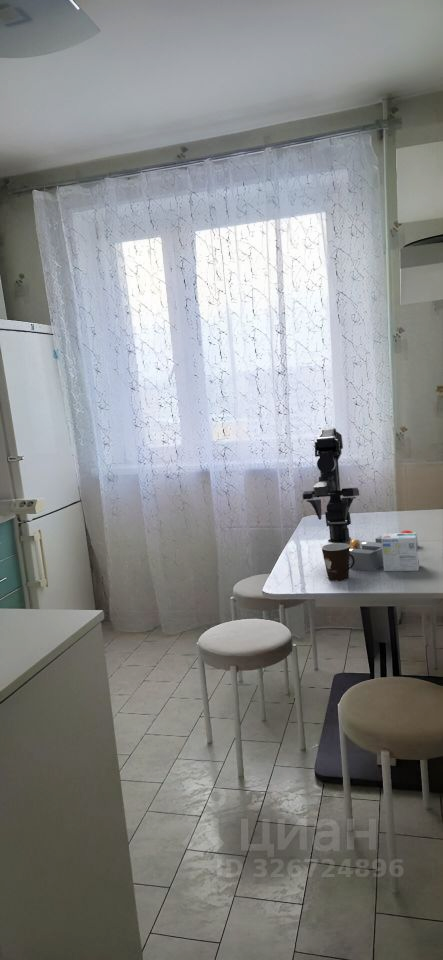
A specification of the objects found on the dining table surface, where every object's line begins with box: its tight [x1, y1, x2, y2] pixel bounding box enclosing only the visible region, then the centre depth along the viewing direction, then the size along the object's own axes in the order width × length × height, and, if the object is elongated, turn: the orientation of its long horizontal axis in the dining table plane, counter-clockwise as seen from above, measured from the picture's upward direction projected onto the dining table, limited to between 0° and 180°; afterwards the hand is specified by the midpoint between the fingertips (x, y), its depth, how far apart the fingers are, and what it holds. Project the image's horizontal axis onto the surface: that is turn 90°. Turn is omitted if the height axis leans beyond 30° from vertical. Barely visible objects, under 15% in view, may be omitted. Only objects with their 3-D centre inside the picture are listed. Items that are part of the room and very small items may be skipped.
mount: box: [349, 535, 383, 572], centre depth 211 cm, size 8×21×6 cm, turn 137°
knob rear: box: [349, 539, 369, 549], centre depth 219 cm, size 9×4×4 cm, turn 47°
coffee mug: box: [321, 542, 355, 582], centre depth 196 cm, size 12×9×10 cm
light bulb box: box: [381, 532, 420, 572], centre depth 200 cm, size 11×7×11 cm, turn 71°
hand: (332, 519), depth 217 cm, fingers open, 9 cm apart
